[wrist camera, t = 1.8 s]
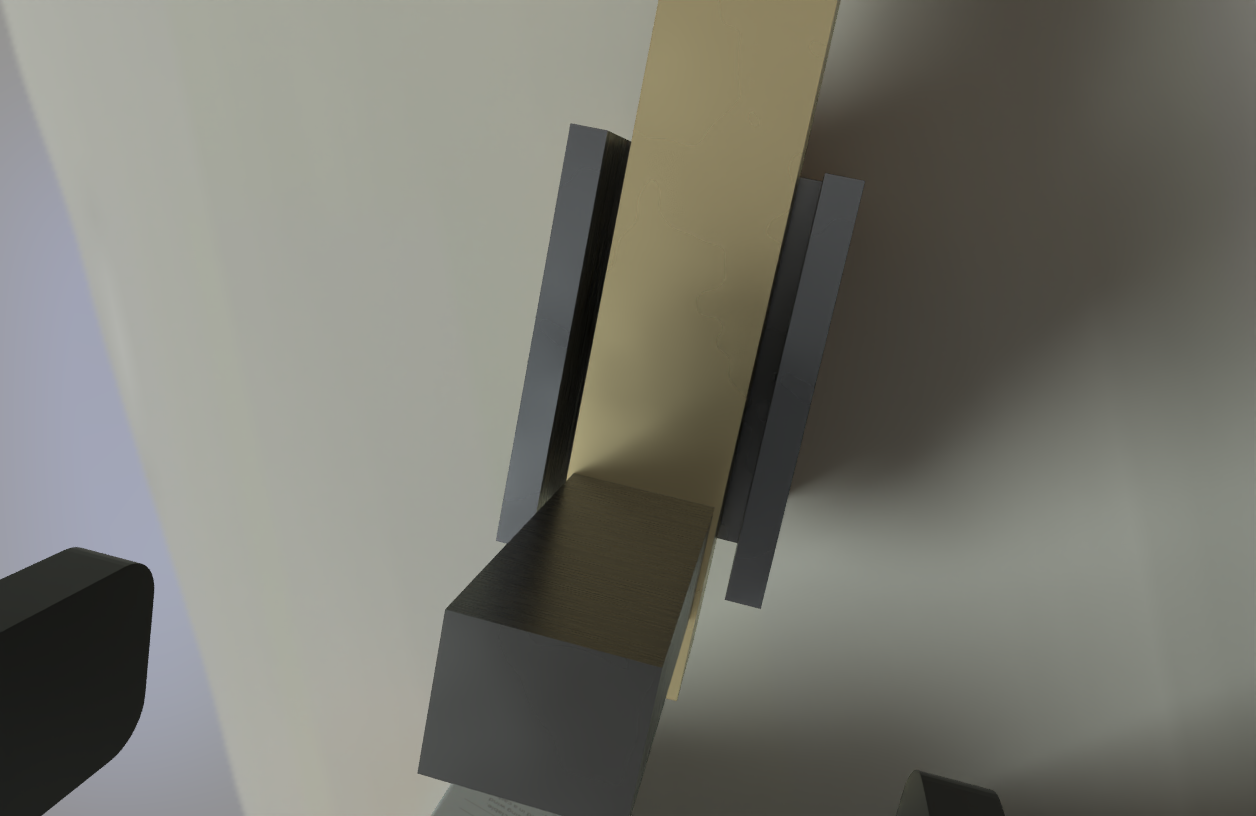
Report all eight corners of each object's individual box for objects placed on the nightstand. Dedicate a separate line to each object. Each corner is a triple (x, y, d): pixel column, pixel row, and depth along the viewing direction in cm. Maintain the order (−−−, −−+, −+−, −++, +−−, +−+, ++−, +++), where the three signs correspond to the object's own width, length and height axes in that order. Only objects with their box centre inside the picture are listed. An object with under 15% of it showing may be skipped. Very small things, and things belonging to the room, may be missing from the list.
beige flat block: (693, 639, 19) (607, 954, 11) (566, 605, 20) (389, 885, 11) (841, -2, 17) (875, -228, 8) (691, -28, 17) (581, -267, 9)
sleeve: (773, 500, 23) (760, 608, 16) (581, 453, 23) (495, 540, 17) (847, 194, 21) (865, 181, 15) (640, 153, 22) (570, 123, 15)
